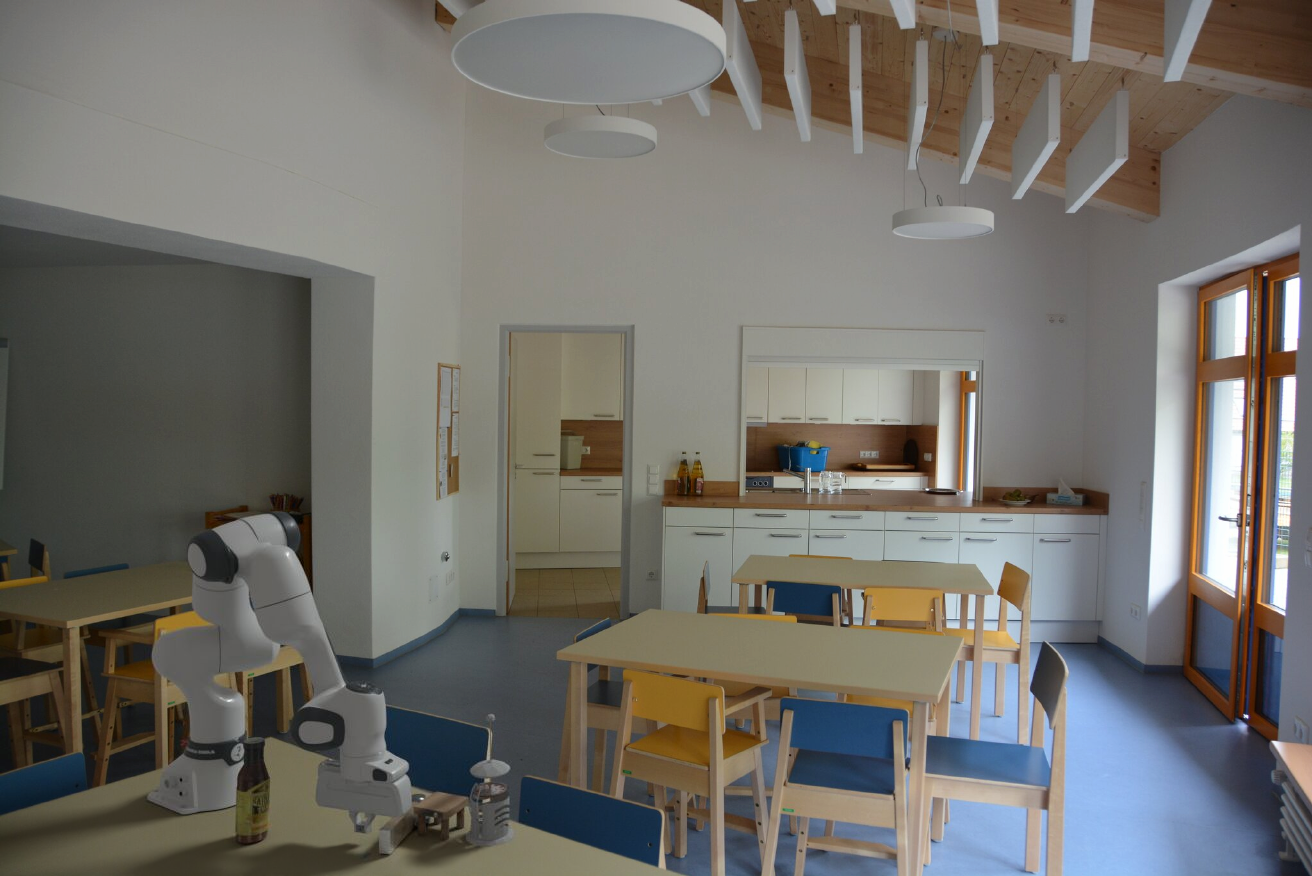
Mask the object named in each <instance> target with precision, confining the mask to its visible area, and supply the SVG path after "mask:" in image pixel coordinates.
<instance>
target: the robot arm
mask: <svg viewBox="0 0 1312 876" xmlns="http://www.w3.org/2000/svg"><path fill="white" fill-rule="evenodd" d="M300 542H301V532H300V528H299V526H298V523H297V522H296V520H295V519H294V518H293V517H292V516H291V515H290V514H289V513H288V512H286V511H279V510H278V511H276V510H275V511H267V512H265V513H263V514H256V515H251V516H245V517H241V518H238V519H236V520H234V521H229V522H228V523H225V524H221V525H219V526H217V527H213V528H211V529H210V528H208V529H205V530H203V531H201V532H198V533H197V534H195V535H193V536H192V537H191V538H190V539H189V542H188V544H187V547H186V559H187V563H188V565H189V568H190V569H191V571H192V589H191V591H192V592H191V607H192V609H193V611H194V612H195V614H196V615H197V616H198V617H199V618H200V619H201V620H203V621H204V622H206V623H210V624H209V625H198V626H197V625H196V626H187V627H186V626H185V627H182V628H178V629H174V630H171V631H167V632H164V633H162V634H161V635H160V636H159V637H158V639H156V641H155V643H154V645H153V647H152V651H151V662H152V665H153V667H154V669H155V670H156V673H158V675H160V676H161V677H163V678H165V679H167V680H168V681H169V682H171V683H173V684H174V685H175V686H177V688H178V689H179V690H180V691H181V693H182V694H183V696H184V699H186V704H187V707H188V714H189V730H190V732H189V733H190V735H189V737H187V738H184V739H182V740H180V742H182V743H181V744H180V746H184V745H185V748H184V751H183V753H182V754H181V755H180V756H178V757H177V758H176V759H175V760H173V762H171V763H170V764H168V765H167V766H166V767H165V768H164V769H163V770H162V772H161V774H160V778H159V786H158V787H156V788H155V789H153V790H152V791H150V792H149V793H148V795H147V801H149V802H152V803H154V804H155V805H158V806H160V807H163V808H165V809H168V810H171V811H173V812H176V813H178V814H180V815H190V814H195V813H199V812H206V811H207V812H209V811H215V810H221V809H225V808H226V809H227V808H229V807H233V806H236V788H237V776H238V773H239V771H240V770H241V768H242V766H243V764H244V762H243V760H244V748H243V742H244V740H246V739H249V738H248V732H247V730H246V701H245V698H244V696H243V695H242V694H241V693H240V692H239V691H238V690H235V689H233V688H230V687H227V686H225V685H221V684H218V683H217V682H216V681H215V676H219V675H222V674H230V673H231V674H232V673H239V672H249V671H254V670H256V669H259V668H263V667H266V666H269V665H271V664H272V663H274V661H275V660H276V659H277V657H278V655H279V653H280V649H281V645H283V646H287V647H290V648H292V649H294V650H295V651H296V652H297V653H299V655H300V657H301V659H302V661H303V664H304V666H305V668H306V671H307V674H308V677H309V678H310V681H311V684H312V686H313V697H312V698H311V700H309V701H308V702H306V703H305V704H304V705H303V706H302V707H300V708H299V709H298V710H297V711H296V712H295V713H294V715H293V716H292V718H291V720H290V724H289V731H290V736H291V738H292V741H293V742H294V744H296V745H297V746H298V748H300V749H302V750H304V751H307V752H312V753H313V752H321V751H329V750H333V749H337V748H338V749H339V757H340V758H339V760H335V759H331V758H326V759H324V760H322V761H321V762H319V764H318V766H317V776H318V777H317V782H316V788H315V798H314V799H315V803H316V804H317V806H318V807H323V808H329V809H336V810H337V809H338V810H342V811H348V817H349V818H350V821H351V822H352V824H353V832H354V833H357V834H358V833H360V834H366V835H368V834H370V833H371V832H372V827H373V826H372V824H373V821H374V820H375V818H376V816H383V817H389V818H392V817H396V818H401V817H402V816H404V815H405V814H406V813H407V812H408V811H409V810H410V809H411V805H412V795H413V793H412V784H411V780H410V777H409V776H408V775H407V774H406V773H407V772H408V771H409V769H410V764H409V762H407V760H405V759H403V758H401V757H399V756H396V755H395V754H393V753H392V752H390V751H389V750H387V744H386V743H387V742H386V740H385V731H386V728H387V706H386V697H385V694H384V692H383V689H382V688H381V687H380V686H379V685H377V684H376V683H374V682H371V681H366V680H357V681H351V682H349V681H348V679H347V678H346V676H345V674H344V671H343V670H342V667H341V664H340V662H339V660H338V655H336V652H335V648H334V646H333V644H332V641H331V638H330V636H329V633H328V631H327V630H326V628H325V625H324V624H323V621H322V619H321V618H320V614H319V611H318V608H317V605H316V602H315V598H314V596H313V593H312V589H311V586H310V583H309V580H308V577H307V575H306V573H305V571H304V568H303V566H302V563H301V561H300V560H299V558H298V557H297V556H298V555H296V552H297V551H298V549H299V547H300ZM250 600H251V602H250ZM251 603H252V606H251ZM252 607H253V608H252ZM360 813H363V814H364V818H366V820H365V821H364V820H363V819H362V818H361V815H360Z"/></svg>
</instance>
